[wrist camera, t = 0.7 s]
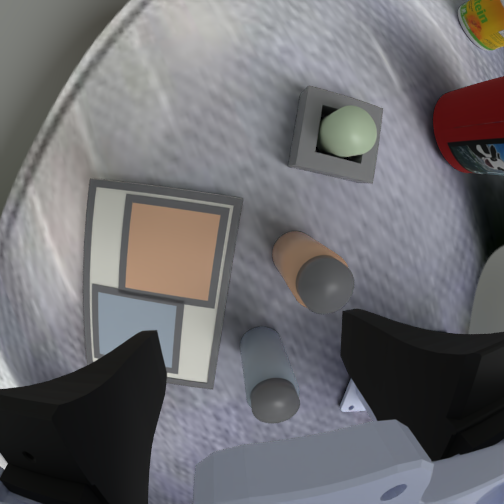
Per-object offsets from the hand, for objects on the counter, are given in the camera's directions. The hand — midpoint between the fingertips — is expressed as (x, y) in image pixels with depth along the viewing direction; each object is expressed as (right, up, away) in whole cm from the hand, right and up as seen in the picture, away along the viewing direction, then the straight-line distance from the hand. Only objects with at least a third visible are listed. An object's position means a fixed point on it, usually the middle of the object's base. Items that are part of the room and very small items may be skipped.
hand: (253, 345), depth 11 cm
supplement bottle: (+22, +25, +6) cm, 34 cm away
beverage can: (+17, +13, +9) cm, 23 cm away
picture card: (-7, +1, +9) cm, 11 cm away
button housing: (+5, +11, +8) cm, 14 cm away
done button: (+5, +11, +8) cm, 14 cm away
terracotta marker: (+3, +3, +9) cm, 10 cm away
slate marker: (+1, -3, +11) cm, 11 cm away
